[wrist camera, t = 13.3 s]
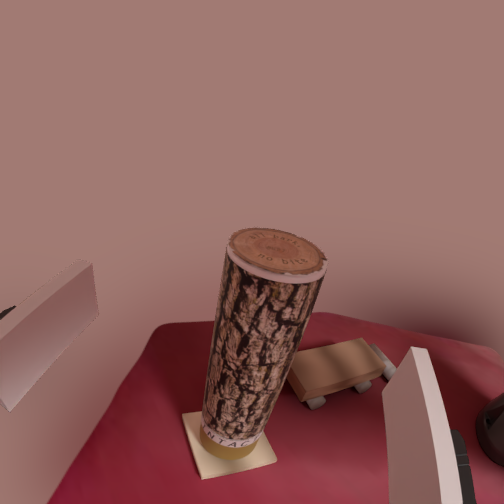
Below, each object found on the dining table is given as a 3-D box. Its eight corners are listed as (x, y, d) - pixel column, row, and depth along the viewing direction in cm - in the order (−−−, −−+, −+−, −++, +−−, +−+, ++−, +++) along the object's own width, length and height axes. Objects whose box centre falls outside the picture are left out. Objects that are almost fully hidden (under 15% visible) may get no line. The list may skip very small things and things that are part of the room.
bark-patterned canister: (205, 410, 34) (235, 220, 23) (258, 421, 34) (322, 239, 23) (193, 455, 28) (218, 261, 17) (253, 466, 28) (335, 285, 17)
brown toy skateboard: (370, 350, 52) (380, 330, 50) (397, 381, 45) (410, 362, 43) (273, 373, 43) (281, 351, 41) (298, 417, 37) (309, 397, 35)
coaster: (248, 407, 37) (249, 403, 37) (275, 462, 30) (277, 459, 29) (181, 417, 33) (182, 413, 33) (201, 479, 26) (201, 476, 26)
